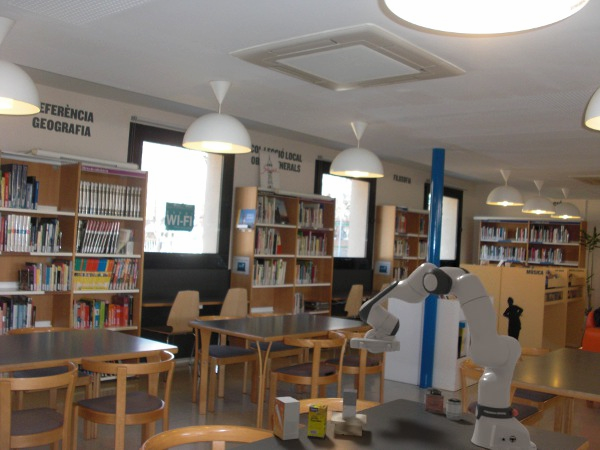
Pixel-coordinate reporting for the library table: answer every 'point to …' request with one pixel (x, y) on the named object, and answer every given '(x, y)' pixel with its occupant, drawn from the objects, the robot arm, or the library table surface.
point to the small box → (286, 418)
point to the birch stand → (348, 424)
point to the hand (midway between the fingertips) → (375, 346)
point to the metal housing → (349, 404)
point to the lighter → (434, 401)
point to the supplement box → (317, 421)
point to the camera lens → (454, 409)
